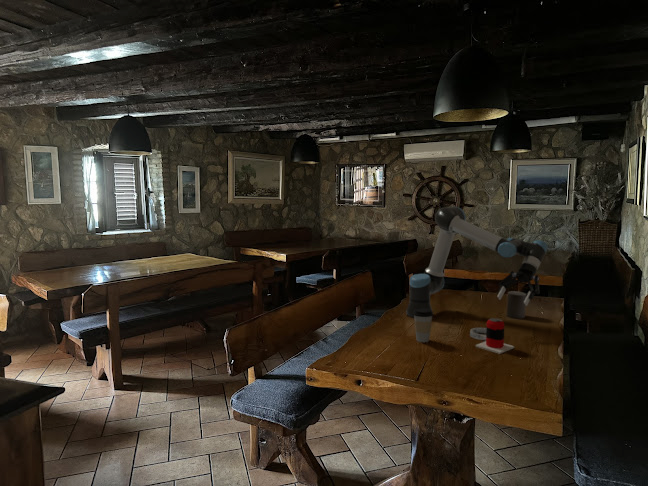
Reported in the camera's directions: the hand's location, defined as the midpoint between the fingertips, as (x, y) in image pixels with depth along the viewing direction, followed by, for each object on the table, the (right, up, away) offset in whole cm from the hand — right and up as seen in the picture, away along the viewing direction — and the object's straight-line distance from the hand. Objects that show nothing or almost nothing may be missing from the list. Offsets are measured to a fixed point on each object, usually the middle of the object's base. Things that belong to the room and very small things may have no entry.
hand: (511, 301), depth 209 cm
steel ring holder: (-12, -18, +4) cm, 22 cm away
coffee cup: (-43, -19, -1) cm, 47 cm away
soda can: (-13, -19, -11) cm, 25 cm away
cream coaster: (-13, -20, -11) cm, 26 cm away
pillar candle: (+19, -14, +39) cm, 45 cm away
